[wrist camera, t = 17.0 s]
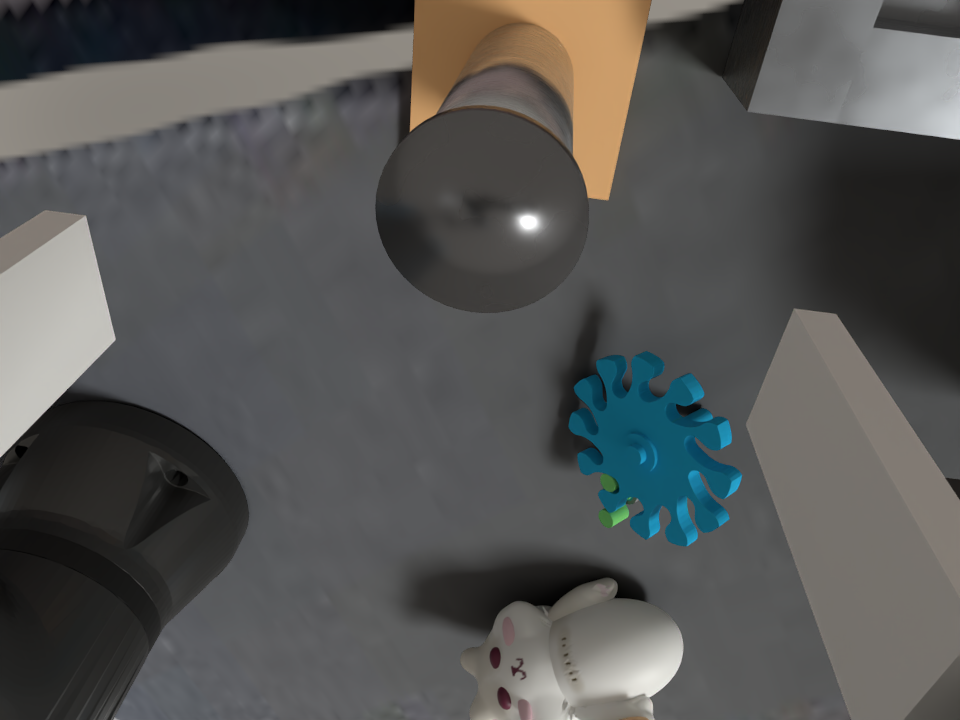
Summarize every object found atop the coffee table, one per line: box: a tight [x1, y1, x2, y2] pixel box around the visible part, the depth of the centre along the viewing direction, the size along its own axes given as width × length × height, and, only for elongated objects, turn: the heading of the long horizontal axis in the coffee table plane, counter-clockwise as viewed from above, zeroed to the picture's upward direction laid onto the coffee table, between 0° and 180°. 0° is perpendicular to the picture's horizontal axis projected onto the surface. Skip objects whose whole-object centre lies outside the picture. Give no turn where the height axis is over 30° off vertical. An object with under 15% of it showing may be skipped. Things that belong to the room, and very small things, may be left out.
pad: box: [410, 0, 652, 200], centre depth 28 cm, size 9×9×1 cm
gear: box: [569, 351, 742, 546], centre depth 36 cm, size 11×6×10 cm
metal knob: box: [376, 23, 589, 313], centre depth 22 cm, size 5×5×14 cm
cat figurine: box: [460, 578, 683, 720], centre depth 45 cm, size 10×8×15 cm
